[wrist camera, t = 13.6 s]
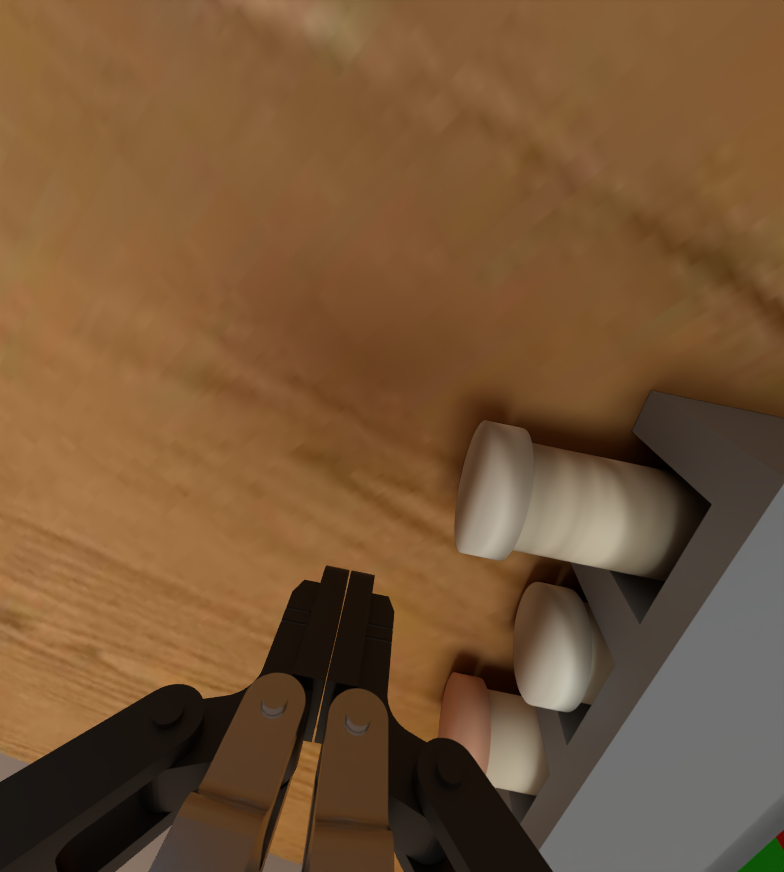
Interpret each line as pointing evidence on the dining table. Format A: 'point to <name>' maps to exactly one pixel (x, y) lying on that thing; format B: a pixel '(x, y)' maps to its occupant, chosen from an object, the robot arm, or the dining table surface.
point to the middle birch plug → (558, 649)
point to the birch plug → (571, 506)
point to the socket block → (681, 675)
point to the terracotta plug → (495, 733)
